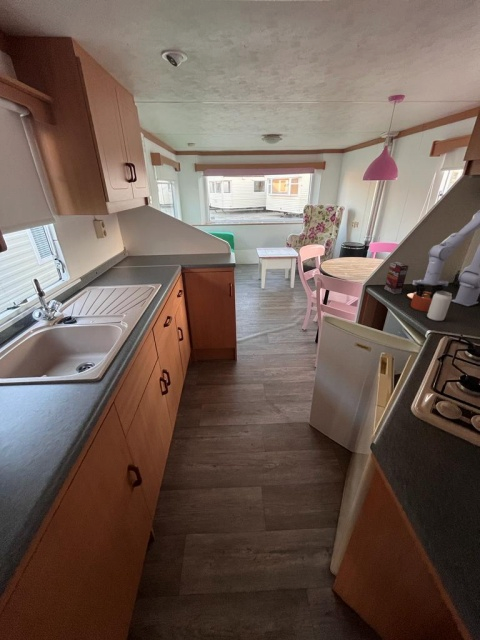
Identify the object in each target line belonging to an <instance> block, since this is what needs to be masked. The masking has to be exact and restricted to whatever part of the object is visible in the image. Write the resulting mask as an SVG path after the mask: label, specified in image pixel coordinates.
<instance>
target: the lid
mask: <svg viewBox="0 0 480 640" xmlns="http://www.w3.org/2000/svg"><path fill="white" fill-rule="evenodd" d="M414 293H415V292H410V293H408V294H407V298H409V299H411V300H412V298H413V295H414Z"/></svg>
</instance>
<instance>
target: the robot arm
mask: <svg viewBox="0 0 480 640" xmlns="http://www.w3.org/2000/svg"><path fill="white" fill-rule="evenodd" d="M478 229H480V209H479V210H478V211H476V213H474V214H473V216H472V218H471V220H470V221H469V222H468V223H467V224H466V225H464V227H463V228H461V229H460V230H459V231H458V232H453V233H451V234H450V235H449V236H448V237H447V238H445V239H444V240H443V241H442V242H441V243H439V244H435V245H433V246H432V247H431V248H430V250H429V251H428V264H427V268H426V271H425V274H424V278H423V279H414V280H412V286H415V289H416V292H417V295H418V296H420V297H422V294H423V292H425V290H426V287H425V286H432V287H431V292H430V293H431V295H430V298H431V299H433V296H434V294H435V293H436V291H444V289H445V287H448V286H449V281H447V280H440V278H441V275H442V272H443V269H444V266H445V263H446V260H448V259H449V258H450V257H451V256H452V254H453V252H455V249H457V248H459V246H461V245H462V244H463V243H464V242H465V238H467V237H468V236H470V235H471V234H472V233H475V231H477V230H478ZM458 282H459V288H458V291H457V293H456V296H455V298H453V299H451V302H453V303H456V304H459V305H463V306H465V307H470V306H474V305H476V304H479V301H478V298H479V296H480V243H479V244H478V246H477V248H476V251H475V254H474V256H473V259H472V261H471V263H470V265H468V266H466V267H463V270H462V271H461V273H460V274H459V275H458Z"/></svg>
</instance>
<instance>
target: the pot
mask: <svg viewBox="0 0 480 640" xmlns="http://www.w3.org/2000/svg"><path fill="white" fill-rule="evenodd" d="M413 293H414V295H413V298H412V299H411V302H410V307H411V308H412V309H414V310H417V311H420V312H424V313H425V312H426V313H428V311H429V308H430V305H431V302H432V299H430V298H423V297H420V296H418V295H417V291H414V292H413ZM423 294H428V295H431V292H429V291H424V292H423ZM423 294H422V295H423Z"/></svg>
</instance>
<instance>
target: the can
mask: <svg viewBox="0 0 480 640" xmlns="http://www.w3.org/2000/svg"><path fill="white" fill-rule="evenodd" d="M451 300H453V297H452V293H451V292H449V291H445V290H442V291H436V293H435V294H434V296H433V299H432V302H431V305H430V308H429V311H428V312H427V314H426V317H427V318H428V319H429V320H432V321H436V322H442V321H444V320H445V318H446V316H447V313H448V311H449V308H450V304H451V302H452V301H451Z"/></svg>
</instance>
